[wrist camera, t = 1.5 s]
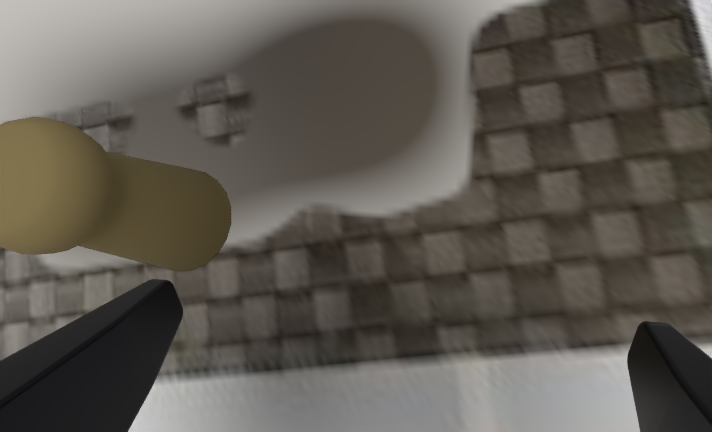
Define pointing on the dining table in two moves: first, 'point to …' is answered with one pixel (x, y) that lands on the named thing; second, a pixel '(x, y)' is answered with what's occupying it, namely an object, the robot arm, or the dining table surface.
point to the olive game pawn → (104, 200)
